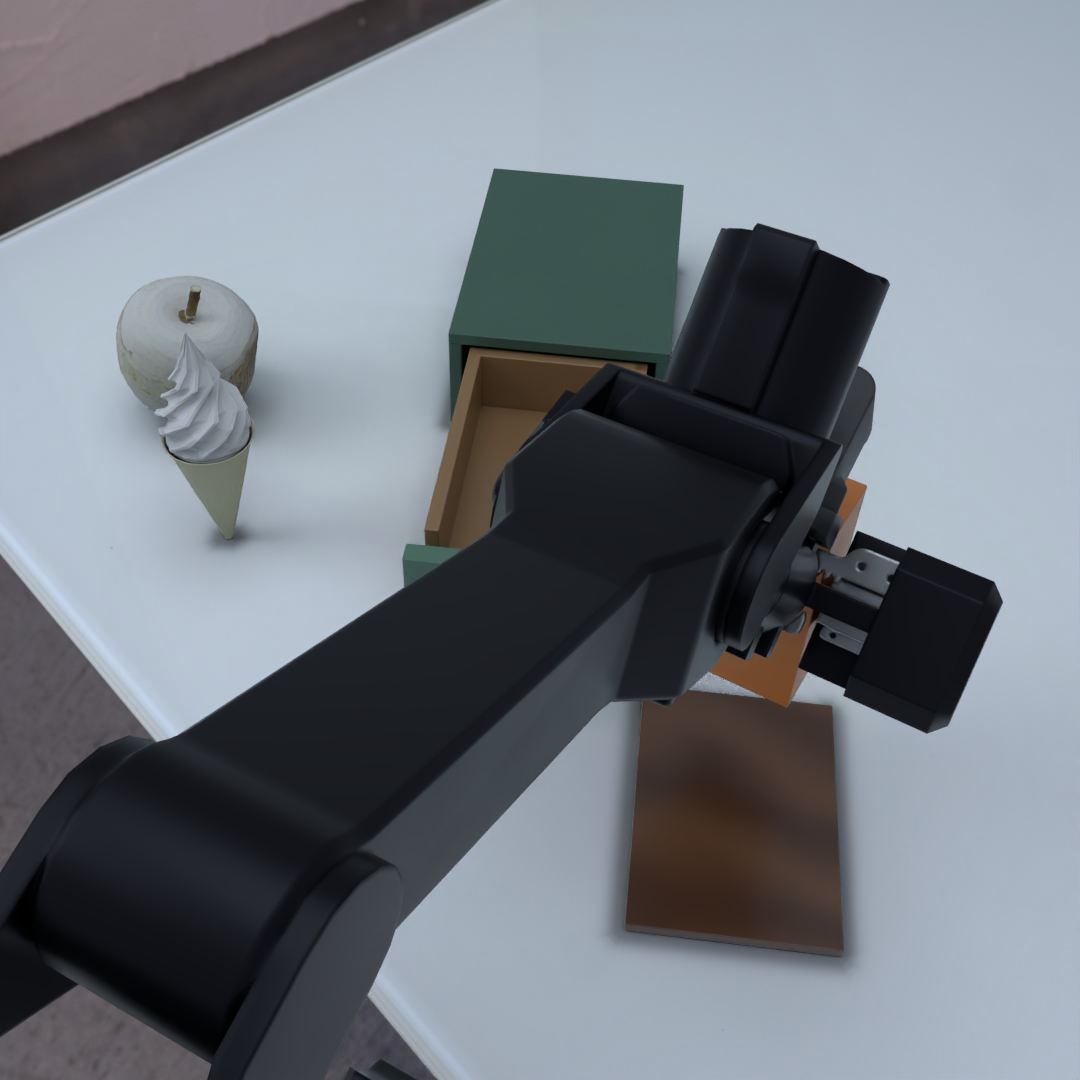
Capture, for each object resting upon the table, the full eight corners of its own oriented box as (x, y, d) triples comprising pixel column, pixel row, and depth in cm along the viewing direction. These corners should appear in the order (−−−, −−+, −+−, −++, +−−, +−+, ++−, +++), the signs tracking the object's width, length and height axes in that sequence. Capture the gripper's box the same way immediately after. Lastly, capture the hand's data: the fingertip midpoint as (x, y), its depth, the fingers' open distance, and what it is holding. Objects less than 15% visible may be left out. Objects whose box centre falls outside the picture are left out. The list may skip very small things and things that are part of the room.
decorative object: (141, 368, 88) (110, 240, 81) (273, 364, 89) (254, 237, 82) (124, 457, 82) (89, 327, 75) (266, 451, 83) (245, 322, 75)
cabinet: (659, 442, 84) (670, 354, 79) (450, 421, 85) (448, 333, 80) (673, 269, 98) (684, 184, 93) (493, 252, 99) (493, 167, 94)
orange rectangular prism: (787, 708, 60) (832, 542, 53) (689, 663, 62) (719, 496, 54) (819, 651, 63) (867, 484, 55) (725, 609, 65) (758, 442, 57)
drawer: (626, 712, 68) (634, 647, 64) (391, 685, 69) (385, 620, 65) (651, 427, 84) (659, 362, 80) (460, 408, 85) (458, 342, 81)
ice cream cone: (168, 553, 76) (115, 346, 66) (215, 497, 80) (172, 292, 69) (243, 578, 75) (202, 372, 64) (288, 520, 78) (255, 315, 68)
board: (841, 957, 60) (844, 951, 60) (623, 930, 61) (624, 924, 60) (830, 712, 70) (832, 705, 69) (642, 691, 70) (643, 684, 70)
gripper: (1072, 437, 42) (1057, 487, 56) (564, 255, 48) (669, 343, 63) (931, 755, 42) (952, 724, 57) (449, 535, 49) (579, 558, 63)
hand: (782, 575), depth 60 cm, fingers closed on orange rectangular prism, 5 cm apart
